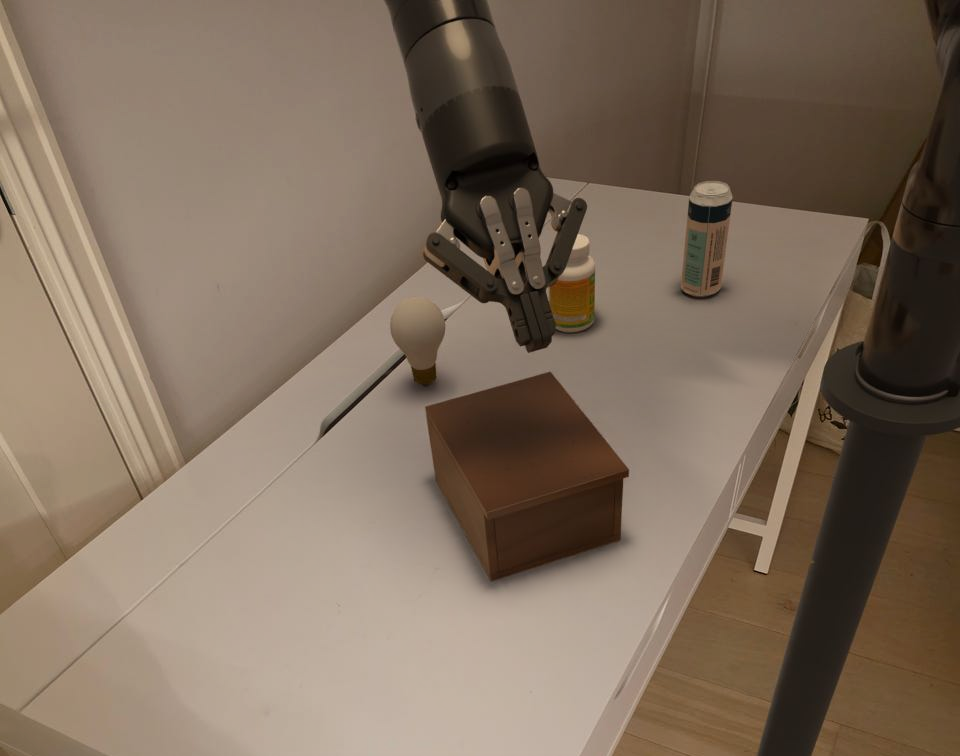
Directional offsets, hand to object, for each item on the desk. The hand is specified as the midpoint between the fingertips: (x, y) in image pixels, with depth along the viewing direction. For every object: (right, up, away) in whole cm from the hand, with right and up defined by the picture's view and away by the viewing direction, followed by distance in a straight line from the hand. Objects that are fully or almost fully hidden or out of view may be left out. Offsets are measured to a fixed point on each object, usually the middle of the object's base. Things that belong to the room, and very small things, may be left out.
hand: (540, 347), depth 65 cm
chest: (0, -9, +18) cm, 21 cm away
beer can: (+23, +21, +43) cm, 53 cm away
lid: (-1, -4, +12) cm, 13 cm away
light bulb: (-11, +7, +34) cm, 36 cm away
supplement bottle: (+7, +16, +40) cm, 44 cm away
